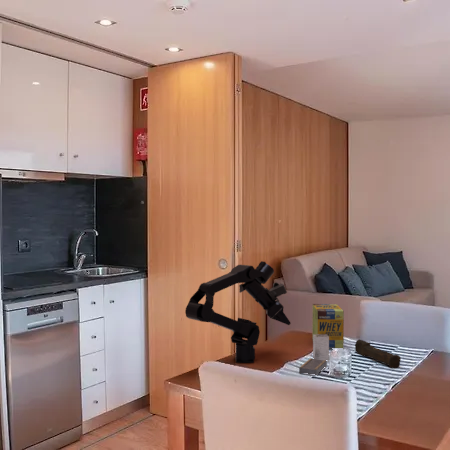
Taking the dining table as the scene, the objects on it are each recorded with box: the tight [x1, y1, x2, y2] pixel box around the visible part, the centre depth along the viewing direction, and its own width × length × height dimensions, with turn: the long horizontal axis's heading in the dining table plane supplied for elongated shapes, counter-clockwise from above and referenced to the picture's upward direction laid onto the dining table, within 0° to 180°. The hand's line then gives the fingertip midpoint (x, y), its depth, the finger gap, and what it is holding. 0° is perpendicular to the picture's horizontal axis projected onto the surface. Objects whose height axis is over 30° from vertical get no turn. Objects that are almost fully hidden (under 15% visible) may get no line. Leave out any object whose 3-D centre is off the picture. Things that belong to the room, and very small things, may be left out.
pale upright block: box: [312, 334, 330, 361], centre depth 192 cm, size 4×5×9 cm
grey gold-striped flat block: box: [298, 357, 328, 376], centre depth 180 cm, size 12×6×2 cm, turn 153°
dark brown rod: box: [354, 339, 401, 369], centre depth 193 cm, size 23×5×6 cm, turn 20°
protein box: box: [311, 303, 345, 349], centre depth 213 cm, size 10×15×16 cm
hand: (288, 321), depth 195 cm, fingers open, 9 cm apart
